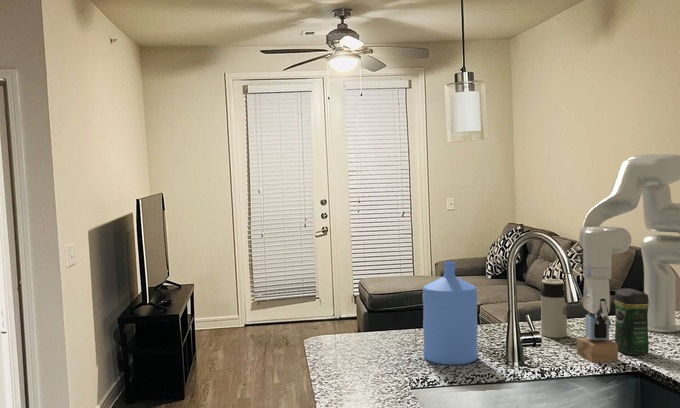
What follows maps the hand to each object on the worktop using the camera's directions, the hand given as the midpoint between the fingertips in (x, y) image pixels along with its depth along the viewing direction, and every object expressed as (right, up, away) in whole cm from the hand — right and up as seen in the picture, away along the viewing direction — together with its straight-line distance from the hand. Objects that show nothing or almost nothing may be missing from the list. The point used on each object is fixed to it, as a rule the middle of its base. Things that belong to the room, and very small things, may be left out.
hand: (597, 334), depth 190 cm
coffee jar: (+12, -6, +5) cm, 15 cm away
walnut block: (0, -7, 0) cm, 7 cm away
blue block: (0, -1, 0) cm, 1 cm away
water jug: (-42, -8, +2) cm, 43 cm away
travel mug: (-4, -6, +26) cm, 27 cm away
